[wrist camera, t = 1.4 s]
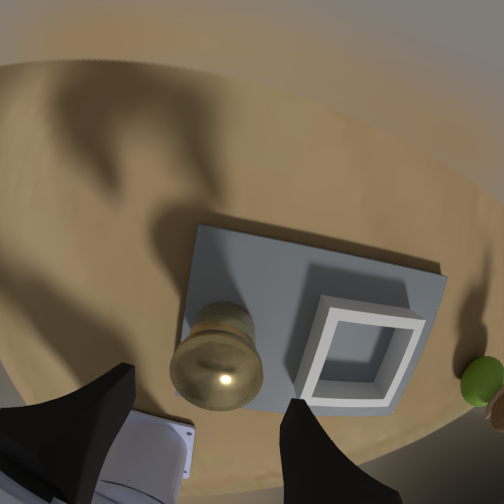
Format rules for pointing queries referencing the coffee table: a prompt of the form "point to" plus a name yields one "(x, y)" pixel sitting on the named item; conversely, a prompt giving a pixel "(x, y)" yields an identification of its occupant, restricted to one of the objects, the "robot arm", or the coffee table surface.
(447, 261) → the coffee table surface
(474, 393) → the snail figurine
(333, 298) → the fitting board
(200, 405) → the brass door knob
